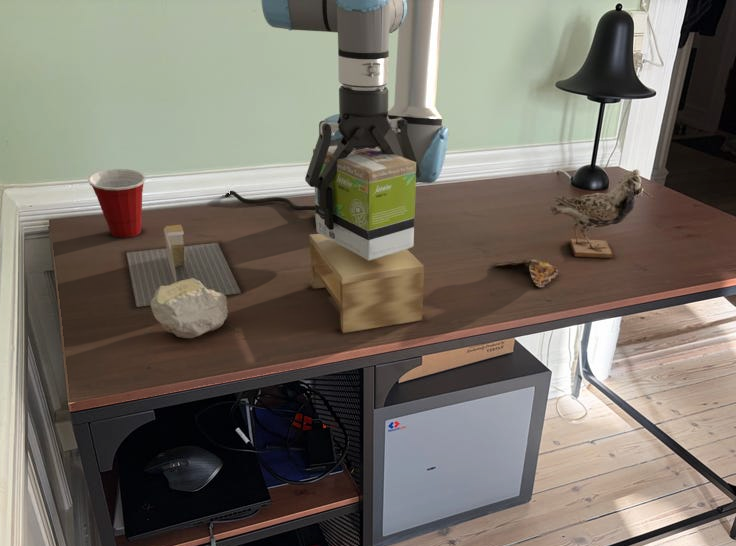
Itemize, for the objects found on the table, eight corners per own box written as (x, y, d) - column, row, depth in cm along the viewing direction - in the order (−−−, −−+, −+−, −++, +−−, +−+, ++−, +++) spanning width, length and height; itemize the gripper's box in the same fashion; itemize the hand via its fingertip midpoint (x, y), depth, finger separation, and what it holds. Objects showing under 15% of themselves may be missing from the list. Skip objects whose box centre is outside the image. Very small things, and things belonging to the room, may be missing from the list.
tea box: (313, 234, 126) (310, 147, 118) (360, 222, 132) (360, 138, 124) (368, 262, 116) (367, 169, 109) (415, 248, 122) (418, 159, 115)
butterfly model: (539, 288, 138) (541, 273, 136) (494, 266, 146) (495, 252, 144) (570, 278, 143) (572, 263, 141) (524, 257, 151) (526, 243, 149)
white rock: (243, 321, 122) (191, 316, 125) (236, 273, 119) (183, 269, 122) (202, 350, 112) (146, 343, 115) (194, 298, 108) (136, 292, 111)
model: (185, 260, 142) (180, 222, 139) (193, 282, 134) (188, 242, 130) (168, 262, 141) (162, 223, 137) (175, 284, 133) (169, 244, 129)
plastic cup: (110, 246, 147) (99, 188, 140) (90, 230, 153) (79, 173, 147) (163, 235, 153) (154, 178, 147) (141, 220, 160) (132, 165, 154)
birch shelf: (343, 333, 120) (341, 277, 115) (311, 286, 135) (309, 234, 130) (422, 320, 125) (424, 266, 120) (383, 276, 140) (383, 226, 135)
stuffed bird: (645, 256, 154) (662, 175, 146) (559, 263, 149) (570, 179, 140) (621, 238, 162) (635, 161, 154) (538, 245, 157) (548, 165, 148)
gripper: (292, 93, 104) (299, 238, 115) (445, 87, 113) (438, 223, 124) (279, 83, 110) (288, 222, 121) (426, 78, 119) (421, 208, 130)
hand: (364, 223), depth 122 cm, fingers closed on tea box, 11 cm apart
